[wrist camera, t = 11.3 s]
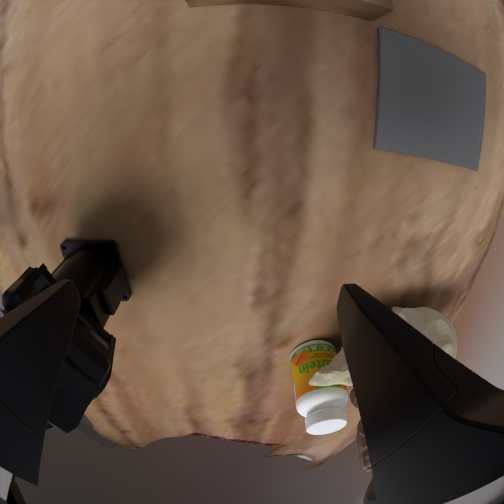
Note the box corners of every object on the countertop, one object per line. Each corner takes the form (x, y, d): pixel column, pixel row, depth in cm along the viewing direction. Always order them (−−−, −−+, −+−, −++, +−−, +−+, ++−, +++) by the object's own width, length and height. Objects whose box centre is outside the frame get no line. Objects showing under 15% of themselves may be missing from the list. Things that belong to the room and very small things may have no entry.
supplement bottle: (332, 333, 28) (354, 410, 19) (337, 359, 30) (354, 428, 22) (284, 346, 29) (294, 425, 20) (294, 371, 31) (304, 441, 23)
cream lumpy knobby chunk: (440, 301, 29) (477, 290, 16) (441, 355, 27) (478, 377, 14) (332, 314, 36) (304, 312, 22) (333, 366, 34) (305, 395, 21)
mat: (373, 147, 18) (375, 148, 18) (377, 28, 13) (380, 26, 13) (474, 169, 18) (477, 170, 18) (482, 73, 13) (485, 73, 13)
